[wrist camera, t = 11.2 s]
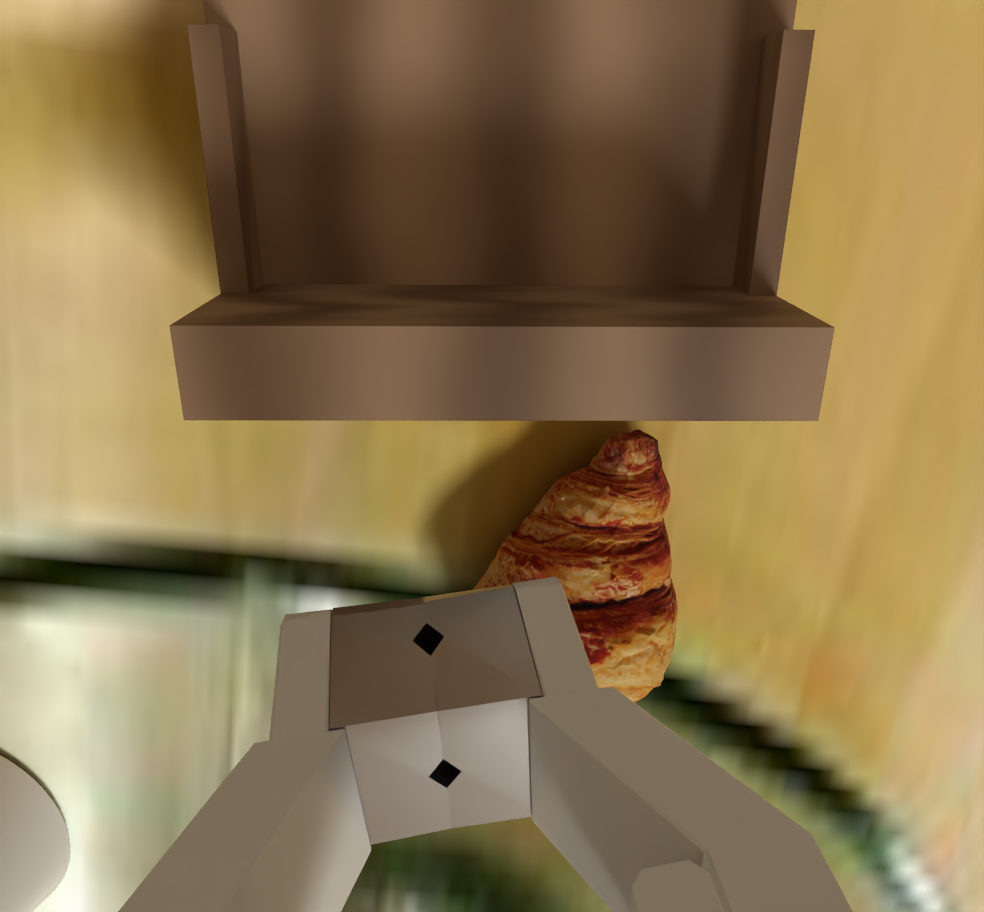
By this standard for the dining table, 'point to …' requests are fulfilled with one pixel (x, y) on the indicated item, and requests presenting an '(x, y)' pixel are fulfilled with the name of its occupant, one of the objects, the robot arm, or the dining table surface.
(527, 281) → the brown open box
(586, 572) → the croissant
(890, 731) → the dining table surface
